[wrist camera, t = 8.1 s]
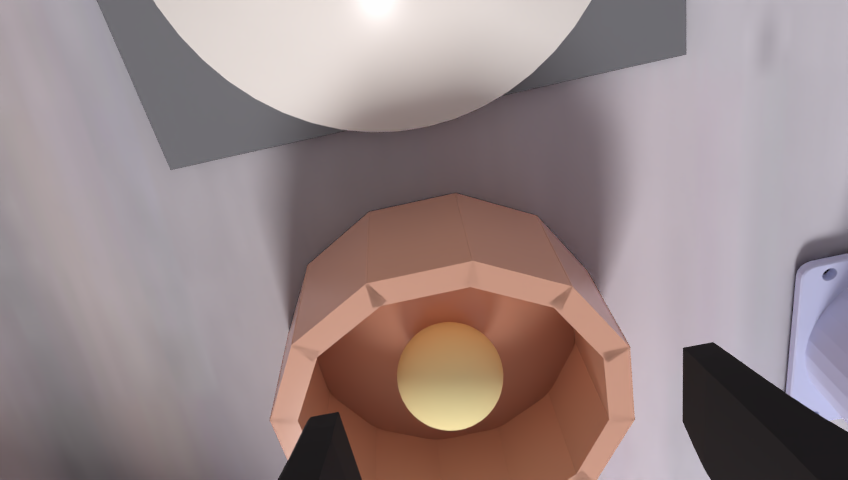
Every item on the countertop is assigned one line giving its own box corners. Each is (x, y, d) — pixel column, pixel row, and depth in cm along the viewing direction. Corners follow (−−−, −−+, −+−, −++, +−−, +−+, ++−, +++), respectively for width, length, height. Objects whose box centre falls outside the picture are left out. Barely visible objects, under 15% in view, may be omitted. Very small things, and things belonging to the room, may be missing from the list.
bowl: (576, 166, 21) (622, 228, 17) (600, 411, 26) (640, 503, 22) (251, 237, 21) (221, 313, 17) (340, 463, 26) (332, 562, 22)
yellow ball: (485, 292, 22) (503, 357, 19) (500, 370, 24) (519, 442, 21) (385, 313, 22) (386, 381, 19) (407, 389, 24) (412, 463, 21)
